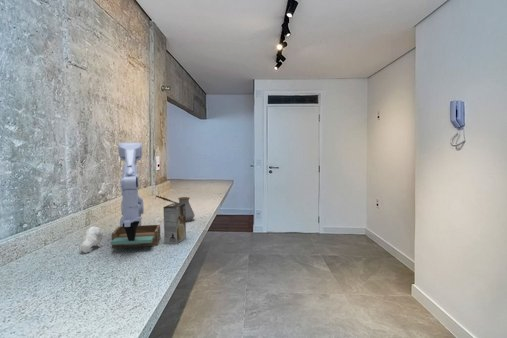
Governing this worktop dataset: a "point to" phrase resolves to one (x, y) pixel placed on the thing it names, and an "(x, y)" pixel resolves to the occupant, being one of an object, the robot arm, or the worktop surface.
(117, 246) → the brown wooden open box
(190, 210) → the coffee pot
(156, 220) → the worktop surface
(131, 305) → the worktop surface
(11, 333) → the worktop surface
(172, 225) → the coffee box
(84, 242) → the white rounded lump
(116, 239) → the panel
